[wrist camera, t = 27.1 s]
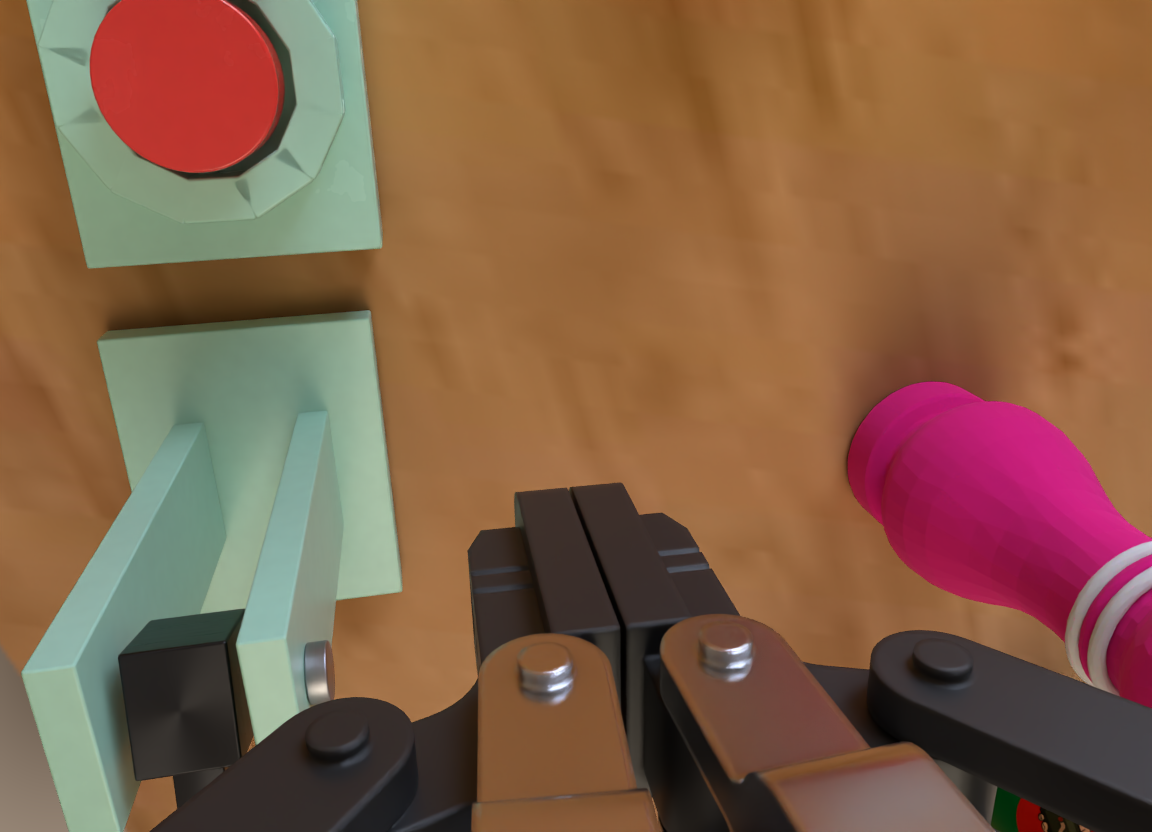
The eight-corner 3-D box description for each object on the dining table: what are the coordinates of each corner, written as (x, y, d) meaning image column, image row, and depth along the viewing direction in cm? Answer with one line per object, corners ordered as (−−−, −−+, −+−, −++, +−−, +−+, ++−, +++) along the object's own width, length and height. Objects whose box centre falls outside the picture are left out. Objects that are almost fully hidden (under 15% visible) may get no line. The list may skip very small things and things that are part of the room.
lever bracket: (402, 576, 35) (410, 895, 21) (168, 605, 34) (18, 967, 20) (370, 309, 31) (356, 491, 18) (106, 330, 30) (-131, 544, 16)
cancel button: (296, 162, 25) (289, 168, 24) (128, 171, 25) (109, 178, 23) (271, -12, 24) (263, -18, 22) (91, -8, 23) (69, -14, 22)
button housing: (383, 234, 31) (382, 259, 26) (112, 252, 29) (66, 282, 25) (345, -106, 27) (337, -139, 23) (35, -104, 26) (-34, -139, 21)
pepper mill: (939, 551, 40) (1418, 968, 21) (803, 500, 37) (1206, 917, 19) (1028, 404, 38) (1636, 719, 19) (890, 341, 36) (1429, 631, 17)
